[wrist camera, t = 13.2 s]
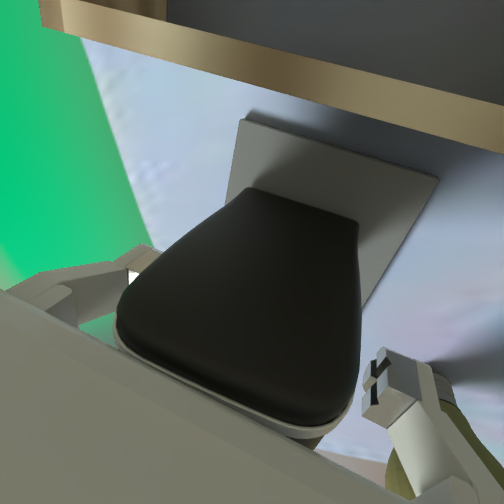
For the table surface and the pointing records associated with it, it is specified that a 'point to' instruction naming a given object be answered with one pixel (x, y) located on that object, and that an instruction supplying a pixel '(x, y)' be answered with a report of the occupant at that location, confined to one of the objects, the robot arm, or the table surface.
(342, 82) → the box
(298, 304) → the battery charger
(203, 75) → the table surface
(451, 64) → the table surface
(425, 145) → the table surface
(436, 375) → the light bulb
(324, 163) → the pad
